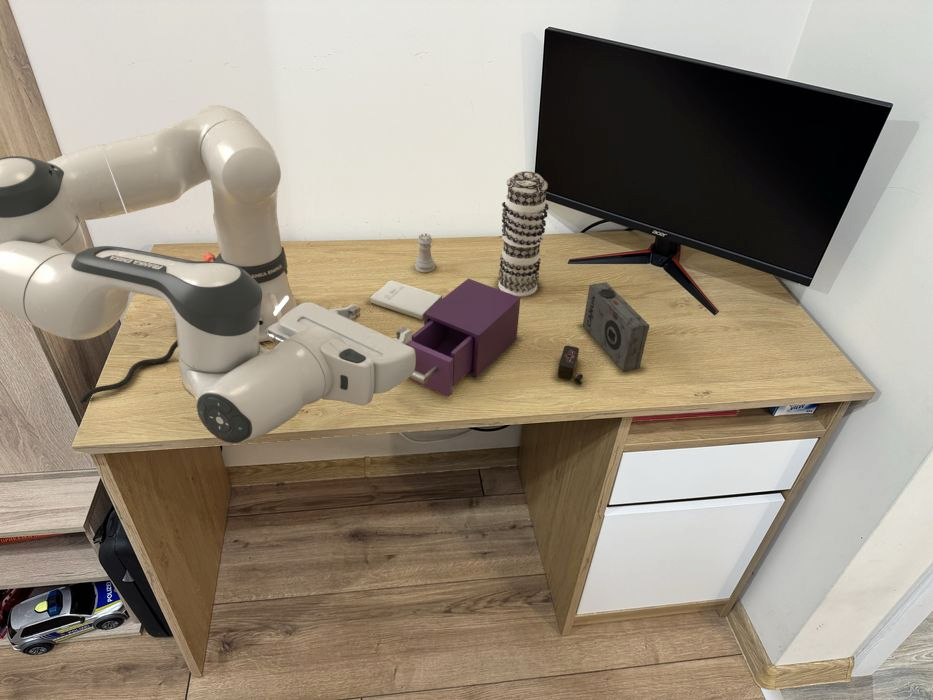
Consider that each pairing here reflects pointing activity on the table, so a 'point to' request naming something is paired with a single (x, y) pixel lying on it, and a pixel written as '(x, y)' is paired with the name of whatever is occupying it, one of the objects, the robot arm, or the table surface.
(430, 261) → the rook chess piece
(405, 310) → the hard drive
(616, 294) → the camera
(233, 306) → the robot arm
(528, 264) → the decorative candle
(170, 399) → the table surface
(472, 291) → the file cabinet
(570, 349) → the wireless earbuds
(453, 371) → the drawer
